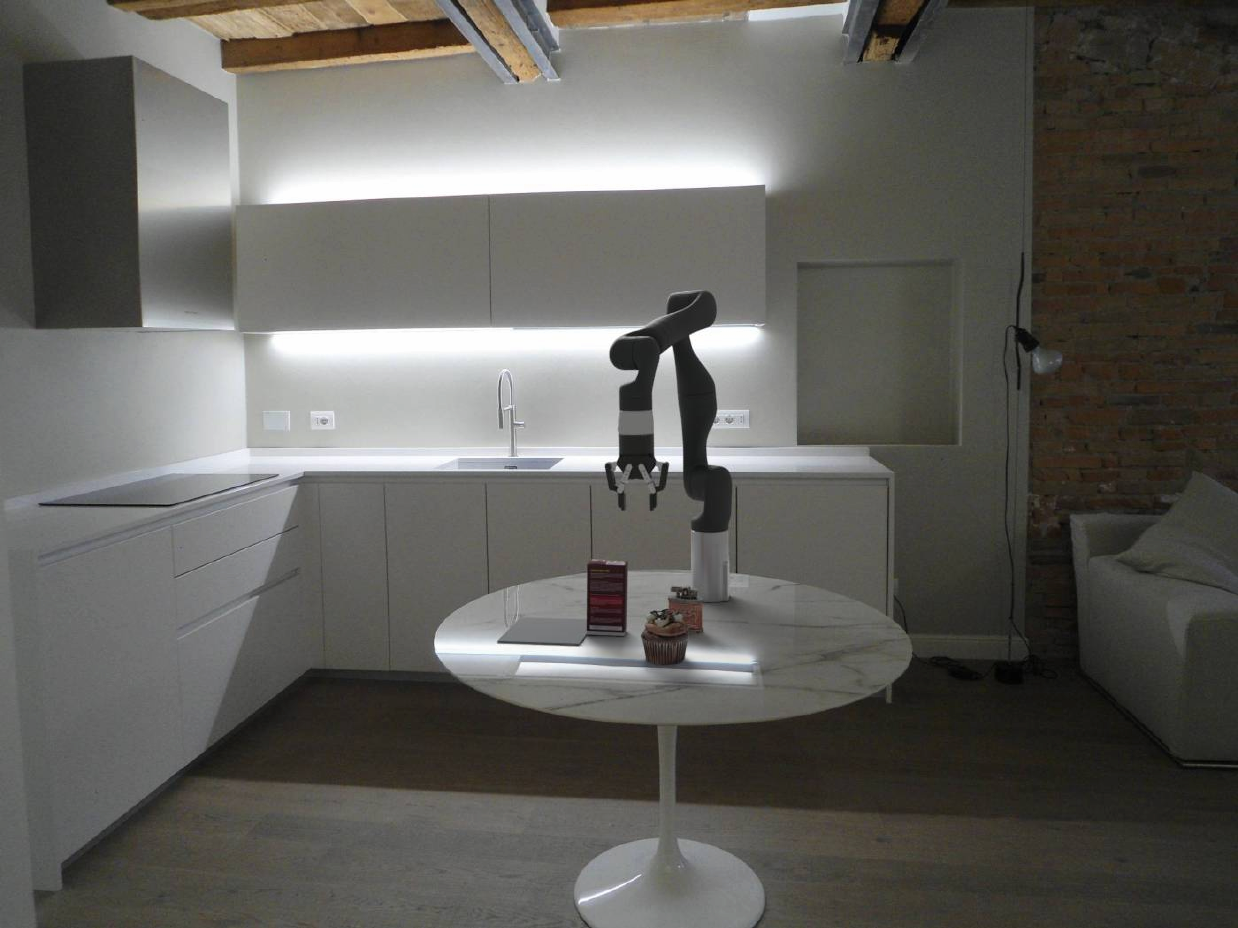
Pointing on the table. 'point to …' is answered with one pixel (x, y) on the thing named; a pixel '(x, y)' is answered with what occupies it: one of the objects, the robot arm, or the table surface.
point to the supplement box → (607, 597)
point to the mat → (546, 631)
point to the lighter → (687, 607)
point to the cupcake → (665, 638)
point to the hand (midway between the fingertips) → (637, 509)
